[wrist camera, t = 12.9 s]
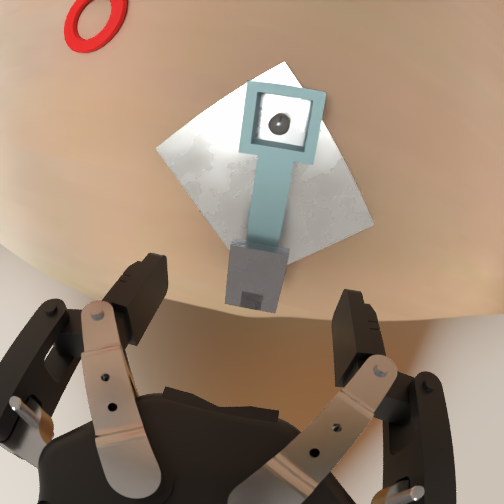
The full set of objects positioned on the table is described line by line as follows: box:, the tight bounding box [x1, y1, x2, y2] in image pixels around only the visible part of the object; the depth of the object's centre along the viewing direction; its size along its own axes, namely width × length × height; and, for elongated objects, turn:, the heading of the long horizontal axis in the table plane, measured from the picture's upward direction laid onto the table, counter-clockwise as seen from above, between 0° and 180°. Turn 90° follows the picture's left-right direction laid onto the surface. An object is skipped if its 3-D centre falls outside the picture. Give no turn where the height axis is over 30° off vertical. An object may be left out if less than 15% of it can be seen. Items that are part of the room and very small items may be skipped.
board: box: [156, 62, 374, 265], centre depth 27 cm, size 15×18×1 cm
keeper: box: [225, 238, 289, 313], centre depth 28 cm, size 7×5×6 cm
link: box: [238, 80, 326, 246], centre depth 25 cm, size 17×6×3 cm, turn 172°
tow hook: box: [64, 0, 127, 53], centre depth 13 cm, size 9×14×10 cm
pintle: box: [268, 111, 291, 135], centre depth 20 cm, size 1×1×7 cm
